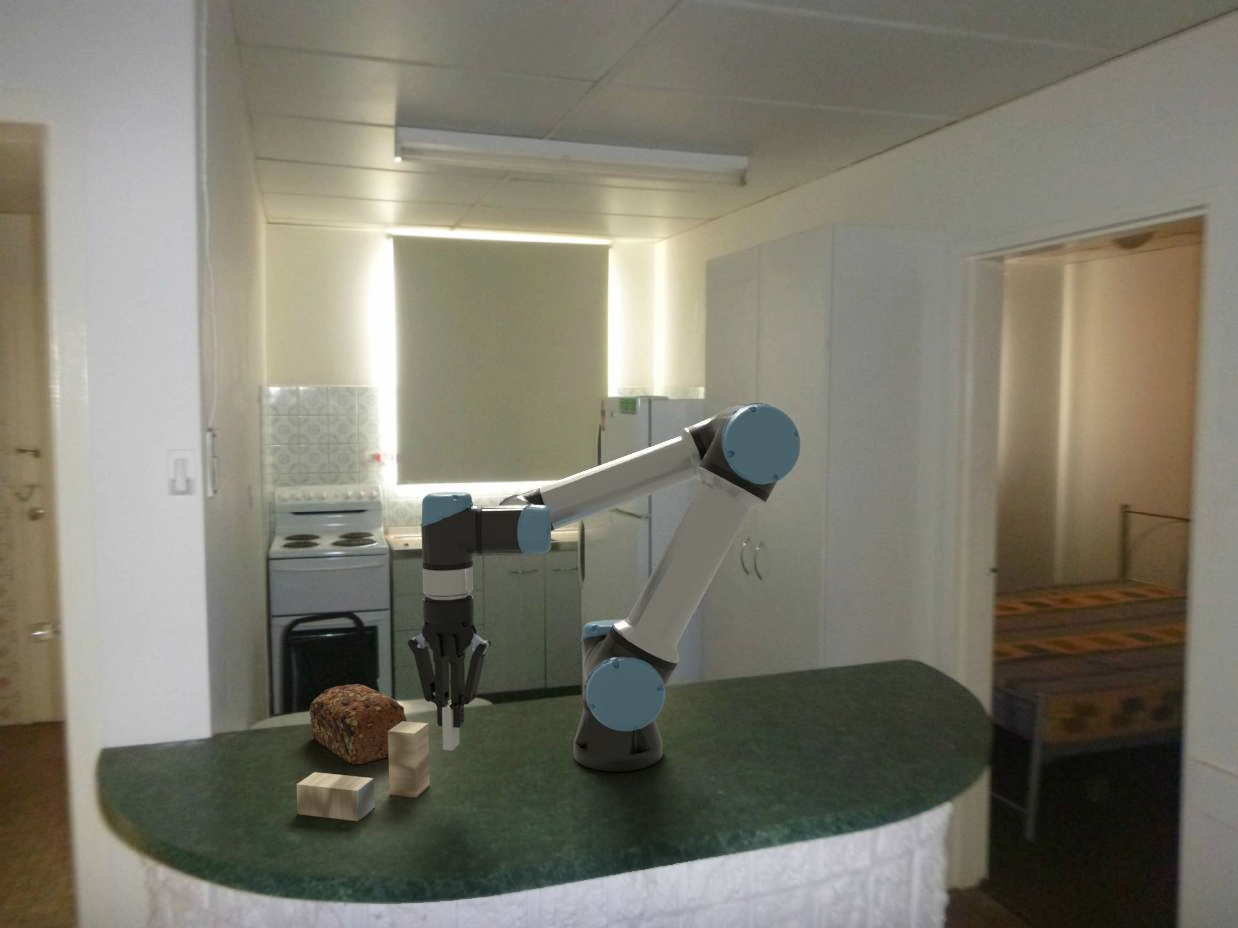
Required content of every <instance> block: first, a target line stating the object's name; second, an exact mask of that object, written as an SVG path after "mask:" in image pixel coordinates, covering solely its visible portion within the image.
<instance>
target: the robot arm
mask: <svg viewBox="0 0 1238 928" xmlns="http://www.w3.org/2000/svg"><path fill="white" fill-rule="evenodd" d="M800 452H801V437H800V434H799V430H798V428H797V426H796V424H795V422H794V421H793V420H792V418H791V416H789V415H788V414H787V413H785V411H783V410H781V409H780V408H777V407H775V406H773V405H770V404H768V403H763V402H751V403H747V404H746V403H745V404H744V403H742V404H736V405H733V406H732V405H731V406H729V407H727V408H726V409H723V410H722V411H719V412H718V413H716V414H714V415H712V416H710V417H708V418H705V419H704V420H701V421H699V422H697V423H695V424H692V425H690V426H687V427H684V428H683V429H682V431H681V433H680V435H679V436H676V437H675V438H672V439H669V440H666V441H663V442H661V443H657V444H655V445H653V446H650V447H647V448H644V449H642V450H639V451H635V452H633V453H631V454H628V455H626V456H622V457H620V458H617V459H615V460H612V461H611V460H610V461H609V462H606V463H603V464H601V465H598V466H595V467H592V468H589V469H587V470H584V471H580V472H578V473H575V474H573V475H569V476H567V477H565V478H562V479H559V480H556V481H552V482H551V483H548V484H545V485H542V486H539V488H536V489H532V490H529V491H525V492H524V493H519V494H512V495H510V496H508V497H506V498H504V499H503V500H502V501H501V502H500V503H499V504H498V505H478V504H474V501H473V498H472V495H471V493H468V492H466V491H464V492H463V491H459V492H458V491H440V492H433V493H431V492H430V493H428V494H427V495H425V496H424V497H423V498H422V501H421V502H422V506H421V523H420V529H421V555H422V593H423V594H424V595H425V596H424V597H423V598H422V603H423V604H422V610H423V611H422V612H423V617H422V618H423V621H424V624H423V625H422V626H423V627H422V629H421V633H420V634H418V635H416V636H414V637H411V639H409V640H408V641H407V646H408V647H409V649H410V650H411V652H412V653H413V656H414V661H415V664H416V668H417V672H418V673H417V674H418V676H419V681H420V685H421V689H422V693H423V698H424V700H425V701H426V702H432V703H433V704H435V705H436V724H437V726H438V727H442V750H443V751H453V750H455V749H456V748H457V747H458V746H459V745H460V728H461V727H462V726H463V725H464V723H465V705H466V706H467V705H469V704H470V703H471V702H473V701H474V700H475V699H476V697H477V693H478V689H479V684H480V679H481V675H482V670H483V665H484V661H485V656H486V654H487V652H488V650H489V649H490V647H492V642H491V640H489V639H483V638H482V637H480V636H479V635H478V634H477V628H476V627H475V624H474V617H475V611H474V605H475V604H474V603H475V602H474V599H475V598H474V596H473V594H472V592H473V591H474V569H473V568H474V566H473V565H474V564H473V563H474V561H473V557H474V556H484V555H486V556H487V555H489V556H491V555H498V556H499V555H501V556H502V555H504V556H506V555H508V556H509V555H520V556H521V555H525V556H531V555H539V554H547V553H548V552H549V551H550V550H551V548H552V531H555V530H557V529H560V528H562V527H566V526H568V525H571V524H574V523H576V522H577V523H578V522H579V521H582V520H585V519H587V518H591V517H593V516H595V515H599V514H602V513H604V512H608V511H610V510H613V509H616V508H618V507H621V506H624V505H626V504H630V503H632V502H635V501H638V500H641V499H643V498H646V497H649V496H651V495H654V494H657V493H659V492H663V491H665V490H668V489H670V488H674V487H677V486H679V485H682V484H685V483H687V482H691V481H692V480H693V481H694V480H698V481H700V484H699V486H698V487H697V490H696V491H695V493H694V495H693V497H692V499H691V501H690V502H689V505H688V506H687V507H686V510H685V512H684V513H683V515H682V517H681V519H680V521H679V522H678V525H677V526H676V528H675V530H674V532H673V534H672V536H671V538H670V539H669V541H668V542H667V545H666V546H665V548H664V550H663V552H662V553H661V555H660V558H659V559H658V561H657V563H656V565H655V567H654V568H653V570H652V572H651V574H650V575H649V578H648V580H647V582H646V583H645V585H644V587H643V589H642V591H641V592H640V595H639V596H638V598H637V600H636V601H635V604H634V605H633V607H632V609H631V611H630V613H629V614H628V616H627V617H626V618H624V619H604V620H603V619H602V620H594V621H590V622H587V623H585V624H584V626H583V627H582V635H581V638H580V639H581V640H580V642H581V645H582V648H581V649H582V698H583V699H582V703H583V704H582V706H583V709H582V714H581V718H580V720H579V725H578V727H577V731H576V734H575V737H574V740H573V758H574V760H575V762H577V764H579V765H582V766H583V767H586V768H588V769H591V770H597V771H601V772H613V773H614V772H631V771H636V770H642V769H645V768H649V767H651V766H653V765H655V764H657V763H658V762H659V761H660V760H661V759H662V757H663V739H662V736H661V734H660V731H659V728H658V725H657V722H656V719H657V717H658V716H659V715H660V713H661V711H662V710H663V706H664V704H665V700H666V686H667V684H668V683H669V680H670V679H671V677H672V675H673V673H674V671H675V670H676V668H677V666H678V664H679V663H680V655H679V653H678V652H679V651H678V649H677V646H678V643H679V642H680V639H681V638H682V636H683V634H684V632H685V630H686V629H687V626H688V625H689V623H690V621H691V619H692V617H693V615H695V612H696V610H697V608H698V606H699V605H700V603H701V601H702V599H703V597H704V595H705V594H706V592H707V590H708V588H709V586H710V584H711V583H712V581H713V578H714V577H715V575H716V573H717V571H718V569H719V568H720V566H721V564H722V563H723V561H724V559H725V557H726V555H727V553H728V552H729V549H730V548H731V546H732V544H733V543H734V540H735V539H736V537H737V535H738V533H739V531H740V529H741V527H743V524H744V522H745V521H746V518H747V516H748V515H749V513H750V512H751V510H752V509H753V508H756V507H760V506H763V505H766V502H767V501H768V499H769V498H770V496H771V493H772V492H773V490H774V489H775V487H776V485H777V483H778V482H779V481H781V480H782V479H784V478H785V477H786V476H787V475H789V473H790V472H792V470H793V469H794V467H795V466H796V464H797V462H798V459H799V456H800ZM471 644H472V646H471V651H472V652H473V653H472V655H471V657H470V662H469V666H468V670H467V676H465V675H466V673H465V672H466V671H465V659H466V651H467V649H468V648H469V647H470V645H471ZM428 646H429V647H430V649H431V650H432V655H433V656H432V660H431V655H430V651H429V649H428ZM432 662H433V663H434V668H433V664H432ZM465 677H466V678H465ZM465 679H466V680H465Z"/></svg>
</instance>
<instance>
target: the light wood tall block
mask: <svg viewBox="0 0 1238 928" xmlns="http://www.w3.org/2000/svg"><path fill="white" fill-rule="evenodd" d="M429 736H430V735H429V723H428V722H427V723H425V722H414V721H407V722H405V721H402V722H400V723H399V724H398V725H396V726H395V727H393V728H392V729H390V730H389V731H388V750H389V757H388V774H389V775H388V779H389V796H397V797H405V798H414V797H415V799H417V798H418V797H419V796H420V795H421V794H422V793H423V792H425V790H426V789H428V788H429V787H430V786H431V780H430V778H431V777H430V748H429V747H430V742H429V740H430V739H429Z"/></svg>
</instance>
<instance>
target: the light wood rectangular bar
mask: <svg viewBox="0 0 1238 928" xmlns="http://www.w3.org/2000/svg"><path fill="white" fill-rule="evenodd" d="M296 800H297V801H296V804H297V806H296V807H297V815H303V816H311V817H319V818H329V819H336V820H337V819H338V820H346V821H352V822H353V821H354V822H359V821H361V820H362V819H363V818H364V817H366V816H367V815H368V814H369V813H370V812H372V810H374V809H375V779H374V778H373V777H365V776H364V777H363V776H356V775H345V774H333V773H327V772H326V773H325V772H316V771H314V772H312V773H311V774H310V775H308V776H307V777H305V778H304V779H302V780H301V781H300V782H298V783H296ZM373 808H374V809H373Z"/></svg>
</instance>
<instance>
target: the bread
mask: <svg viewBox="0 0 1238 928" xmlns="http://www.w3.org/2000/svg"><path fill="white" fill-rule="evenodd" d="M309 715H310V716H309V717H310V720H309V724H310V730H311V735H312V737H313V740H314V739H315V740H314V741H316V742H317V743H319V744H320V743H321V744H322V745H321V744H320V745H321V746H323V747H324V746H325V747H326V748H325V747H324V748H325V749H327V750H329V749H330V750H331V752H332V753H333V754H335V756H336V755H337V756H338V757H339V758H340V759H342V760H343V761H346V762H347V763H349V764H350V763H351V765H364V764H368V763H371V762H372V761H373V762H376V761H378V760H382V759H388V758H389V750H388V731H389V730H390V729H392V728H393V727H395V726H396V725H398V724H399V723H400V722H402V721H405V722H408V721H407V719H408V718H407V716H406V714H405V707H404V706H403V705H401V704H400V703H399V702H398V700H396V699H393V698H392V697H390V696H388V695H386V694H384V693H383V692H381V691H377V690H375V689H373V688H371V687H368V686H366V685H363V684H361V683H355V684H344V685H337V686H334V687H330V688H326V689H325V690H324V691H323V692H322V693H321V694H320V695H318V696H317V697H315V698H314V700H313V701H312V702H311V703H310V706H309ZM330 750H329V751H330Z"/></svg>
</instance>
